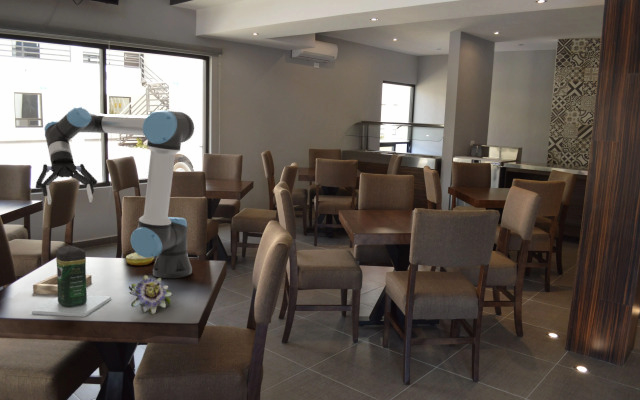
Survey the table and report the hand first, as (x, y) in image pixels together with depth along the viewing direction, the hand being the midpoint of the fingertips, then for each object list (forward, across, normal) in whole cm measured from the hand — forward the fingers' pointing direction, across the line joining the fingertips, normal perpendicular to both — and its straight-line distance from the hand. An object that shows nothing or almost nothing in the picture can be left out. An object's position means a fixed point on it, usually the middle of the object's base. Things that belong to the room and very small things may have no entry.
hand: (71, 201), depth 185 cm
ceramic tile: (+38, +5, -5) cm, 39 cm away
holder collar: (+23, +4, -22) cm, 31 cm away
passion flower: (+50, -14, +6) cm, 52 cm away
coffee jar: (+38, +5, -5) cm, 38 cm away
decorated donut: (+7, -31, -38) cm, 50 cm away
